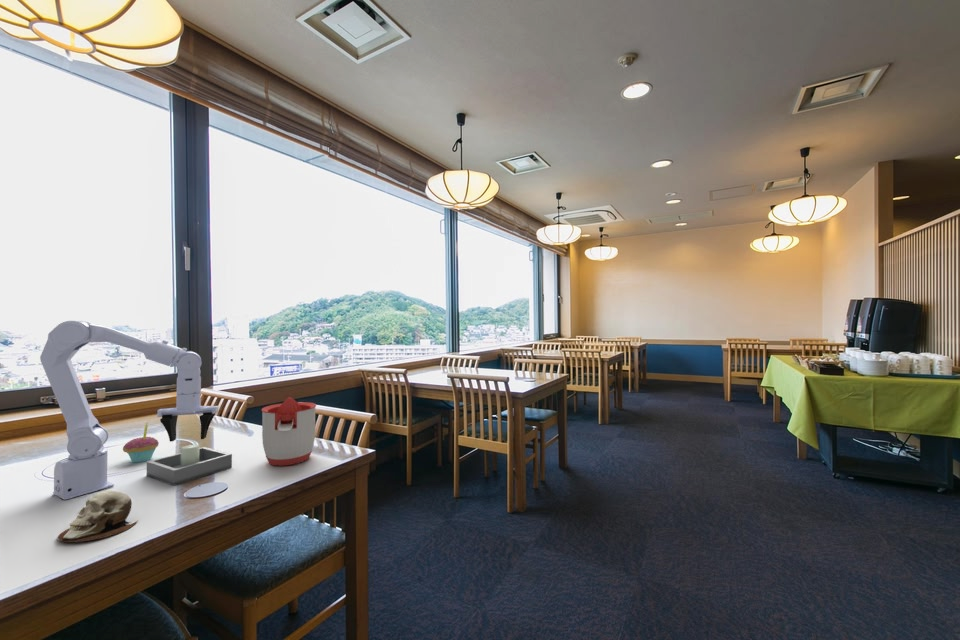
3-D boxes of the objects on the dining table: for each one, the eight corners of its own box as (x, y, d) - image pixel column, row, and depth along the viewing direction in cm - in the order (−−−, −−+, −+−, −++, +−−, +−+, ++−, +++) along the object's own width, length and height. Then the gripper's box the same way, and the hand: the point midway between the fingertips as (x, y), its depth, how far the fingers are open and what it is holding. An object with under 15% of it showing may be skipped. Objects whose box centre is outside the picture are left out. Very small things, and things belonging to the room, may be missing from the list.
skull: (79, 547, 73) (59, 501, 76) (60, 573, 76) (41, 528, 79) (153, 516, 84) (133, 476, 87) (133, 540, 87) (115, 501, 90)
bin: (173, 485, 104) (173, 470, 104) (146, 475, 111) (146, 461, 111) (231, 467, 117) (231, 454, 117) (204, 459, 124) (204, 446, 124)
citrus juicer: (254, 474, 112) (254, 404, 112) (266, 455, 128) (267, 394, 128) (313, 467, 116) (313, 401, 117) (318, 450, 133) (318, 391, 133)
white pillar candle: (185, 472, 111) (185, 450, 111) (177, 470, 113) (177, 447, 113) (202, 467, 114) (202, 446, 114) (194, 465, 117) (194, 443, 117)
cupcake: (165, 456, 127) (165, 419, 128) (140, 465, 119) (140, 426, 119) (141, 455, 128) (141, 418, 128) (115, 464, 120) (115, 425, 120)
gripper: (152, 396, 108) (151, 445, 108) (212, 393, 112) (211, 441, 112) (164, 392, 115) (163, 438, 115) (220, 390, 119) (220, 434, 119)
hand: (188, 439), depth 114 cm, fingers open, 7 cm apart
